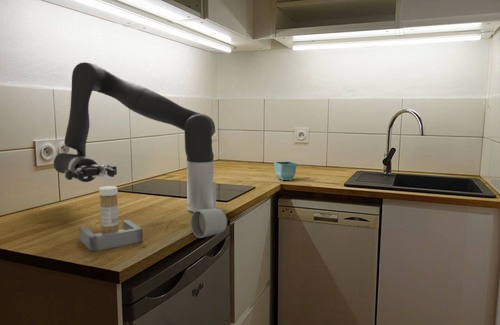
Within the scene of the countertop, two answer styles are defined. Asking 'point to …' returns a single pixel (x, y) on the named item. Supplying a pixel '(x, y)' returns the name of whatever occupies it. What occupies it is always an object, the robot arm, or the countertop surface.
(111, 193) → the sprinkles bottle
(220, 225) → the ceramic mug
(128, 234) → the bay
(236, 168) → the countertop surface
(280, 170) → the flower pot
